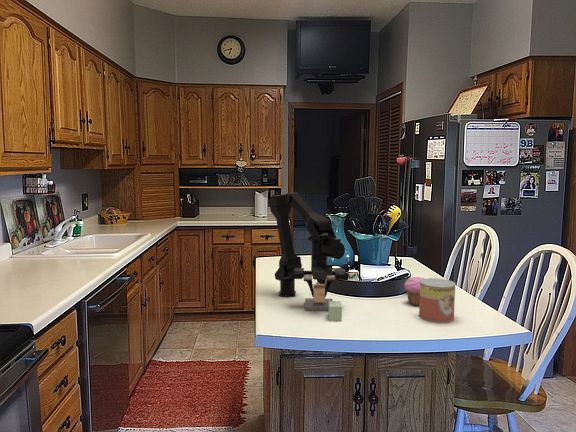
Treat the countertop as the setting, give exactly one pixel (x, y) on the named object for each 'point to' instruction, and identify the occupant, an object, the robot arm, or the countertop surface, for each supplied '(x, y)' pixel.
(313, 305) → the grey baseplate
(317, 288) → the oak brick
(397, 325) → the countertop surface
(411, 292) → the cupcake
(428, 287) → the canned food
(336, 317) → the sage brick
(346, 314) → the countertop surface
